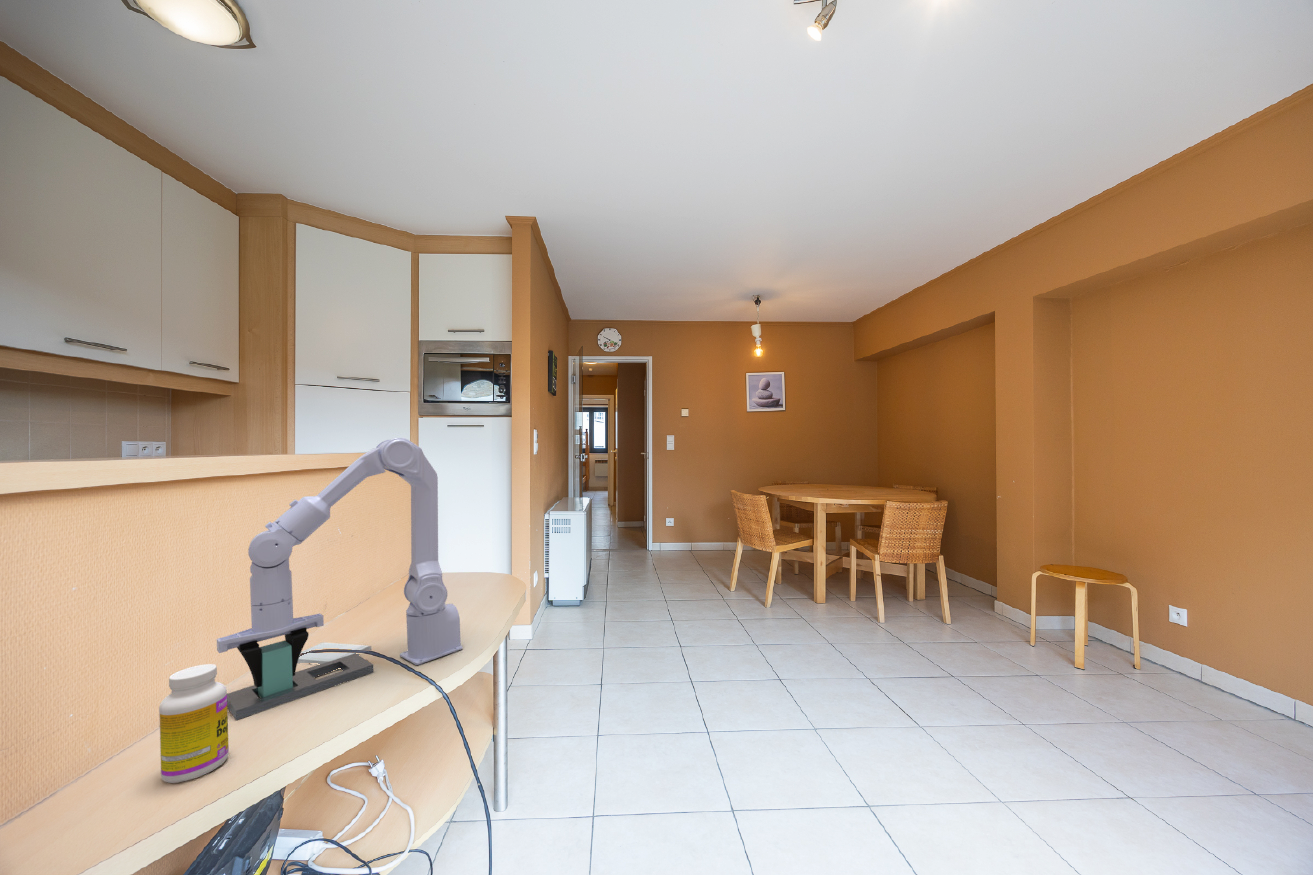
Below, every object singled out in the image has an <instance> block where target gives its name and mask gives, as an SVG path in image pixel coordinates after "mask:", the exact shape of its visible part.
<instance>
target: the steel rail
mask: <svg viewBox="0 0 1313 875" xmlns="http://www.w3.org/2000/svg"><path fill="white" fill-rule="evenodd" d="M338 668H341V669H342V670H343V671H342V670H341V669H340V670H341V671H338V672H335V673H333V674H331V675H330V674H329V673H328V672H331V671H333V670H336V669H338ZM374 671H375V670H374V664H373V663H372V662H370V661H369V660H367V659H366V658H364V657H362V655H360V656H359V655H358V654H356V653H355V654H352V655H348V656H345V657H342V658H339V659H336V660H333V661H329V662H326V663H323V664H320V665H313V666H311V667H308V668H304V669H302V670H301V669H300V670H299V671H296V672H295V676H293V688H290V689H287V690H284V691H281V692H278V693H275V694H272V695H269V696H266V697H263V698H259V697H260V696H259V695H258V687H256V686H255V685H254V684H253V685H251V686H247V687H244V688H242V689H241V688H240V689H238V690H234V691H230V692H227V710H229V712H230V713H231V715H232V716H233V718H234V720H235V721H239V720H241V719H245V718H247V717H251V716H252V715H255V714H258V713H262V712H265V711H267V710H271V709H273V708H275V707H278V706H281V705H285V704H287V703H289V702H293V701H295V700H298V699H301V698H305V697H308V696H310V695H313V694H316V693H319V692H321V690H322V691H324V690H323V689H325V690H327V688H328V689H331V688H333V687H336V686H339V685H341V684H340V683H342V684H344V683H343V682H345V683H347V681H348V682H350V681H353V680H356V679H359V678H361V677H364V676H367V675H369V674H370V675H371V674H372V673H374ZM325 673H327V674H329V675H326V674H325ZM331 673H332V672H331ZM323 674H324V675H326V676H324V675H323ZM318 675H321V676H323V677H321V678H318V679H316V678H317V677H316V676H318ZM314 677H315V678H314ZM318 677H319V676H318ZM338 684H339V685H338ZM335 685H336V686H335Z"/></svg>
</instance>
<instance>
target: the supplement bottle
mask: <svg viewBox="0 0 1313 875" xmlns="http://www.w3.org/2000/svg"><path fill="white" fill-rule="evenodd" d="M217 669H218V668H217V665H216V664H215V663H206V664H205V663H204V664H198V665H194V666H190V667H186V668H184V669H180V670H179V671H176V672H174V673H173V674H171V675H170V676H169V677H168V687H169V689H170V690H171V692H170V694H168V695H167V696H165V697H164V698H163V699H162V701H161V702H160V705H159V707H158V712H159V714H158V715H159V745H160V746H159V748H160V749H159V750H160V751H159V752H160V754H159V755H160V777H161V780H162V781H164V782H165V783H169V784H170V783H171V784H173V783H174V784H175V783H176V784H177V783H182V782H187V781H191V780H194V779H196V778H197V779H198V778H199V777H201V776H204V775H207V774H209V773H210V772H212V771H214V770H215V769H217V768H219V767H220V766H221V765H223V764H224V763H225V761H226V760H227V758H228V756H229V754H230V752H229V746H230V745H229V717H228V714H229V713H228V707H227V694H228V692H227V687H226V685H225V684H223V683H221V682H219V681H215V680H216V678H217V675H218V670H217Z"/></svg>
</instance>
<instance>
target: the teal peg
mask: <svg viewBox="0 0 1313 875" xmlns="http://www.w3.org/2000/svg"><path fill="white" fill-rule="evenodd" d="M259 647H260V648H261V649H262V651H261V674H262V686H261V687H258V695H259V696H258V697H260V698H263V697H266V696H269V695H272V694H275V693H278V692H281V691H284V690H287V689H290V688H293V676H292V646H291V645H290V644H289V643H288V642H286V641H285V639H284V640H281V641H277V642H273V643H270V644H266V645H262V646H259ZM260 698H259V699H260Z"/></svg>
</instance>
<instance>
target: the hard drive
mask: <svg viewBox="0 0 1313 875" xmlns="http://www.w3.org/2000/svg"><path fill="white" fill-rule="evenodd" d="M323 648H339V649H352V650H370V651H372V645H366V644H365V645H364V644H352V643H337V642H327V641H326V642H321V643H318V644H316V645H314V646H312V647H311V646H310V647H309V648H307V649H304V650H302V651H301V653H306V652H309V651H311V650H315V649H323ZM301 653H300V654H301ZM352 654H355V653H307V654H304V655H302V656H300V657H299V659H298V662H297V664H300V663H318V664H323V663H326V662H329V661H333V660H336V659H339V658H342V657H345V656H348V655H352ZM358 655H359V654H358Z"/></svg>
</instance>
